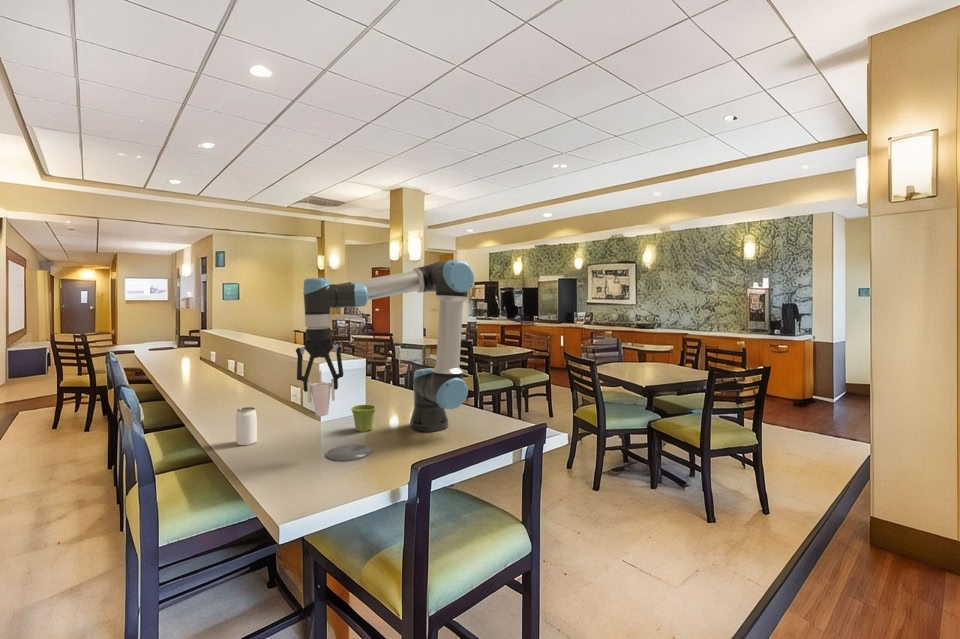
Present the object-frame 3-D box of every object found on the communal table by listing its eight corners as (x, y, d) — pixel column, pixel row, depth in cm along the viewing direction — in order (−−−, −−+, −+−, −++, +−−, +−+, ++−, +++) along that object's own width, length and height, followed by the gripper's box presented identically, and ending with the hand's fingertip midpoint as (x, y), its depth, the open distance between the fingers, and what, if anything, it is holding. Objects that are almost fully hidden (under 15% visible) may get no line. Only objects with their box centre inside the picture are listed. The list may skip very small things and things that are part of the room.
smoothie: (312, 418, 142) (309, 373, 141) (310, 413, 148) (308, 369, 147) (334, 415, 144) (331, 371, 143) (331, 410, 150) (329, 368, 149)
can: (232, 444, 161) (231, 410, 160) (247, 439, 167) (246, 406, 166) (246, 446, 159) (245, 412, 158) (261, 441, 165) (260, 407, 164)
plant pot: (374, 433, 174) (374, 410, 174) (349, 433, 174) (348, 410, 173) (378, 425, 184) (377, 404, 183) (354, 426, 183) (353, 404, 182)
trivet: (370, 444, 161) (370, 443, 161) (371, 458, 147) (371, 457, 147) (327, 448, 157) (327, 446, 157) (324, 462, 144) (324, 461, 144)
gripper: (350, 325, 150) (353, 395, 152) (286, 328, 145) (290, 400, 147) (350, 327, 143) (353, 400, 145) (283, 330, 138) (287, 406, 140)
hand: (321, 400), depth 146 cm, fingers closed on smoothie, 6 cm apart
